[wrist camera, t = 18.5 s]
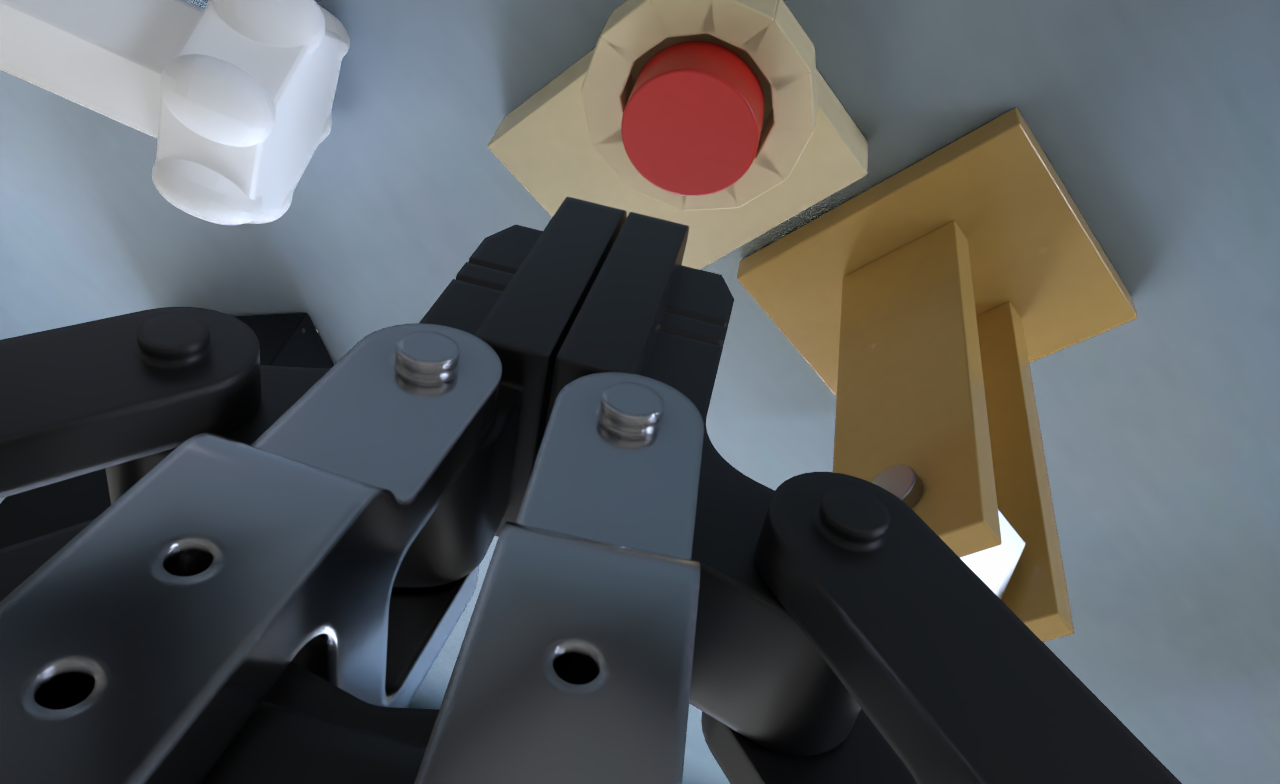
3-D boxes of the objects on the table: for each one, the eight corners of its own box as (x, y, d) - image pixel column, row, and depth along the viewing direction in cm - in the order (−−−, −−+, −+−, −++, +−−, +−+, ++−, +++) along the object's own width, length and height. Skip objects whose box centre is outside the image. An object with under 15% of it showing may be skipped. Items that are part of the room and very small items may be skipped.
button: (712, 12, 29) (702, 41, 27) (791, 120, 30) (786, 153, 29) (607, 88, 31) (592, 119, 29) (686, 185, 32) (677, 219, 31)
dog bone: (-59, -4, 37) (-241, 94, 31) (-84, -258, 31) (-313, -198, 25) (331, 170, 39) (231, 294, 33) (377, -38, 33) (266, 66, 27)
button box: (736, -104, 30) (720, -59, 27) (893, 127, 34) (894, 188, 31) (485, 96, 36) (449, 151, 33) (644, 273, 39) (625, 337, 36)
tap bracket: (865, 412, 42) (859, 732, 31) (739, 260, 38) (682, 566, 27) (1132, 298, 36) (1238, 643, 25) (1016, 106, 32) (1083, 417, 22)
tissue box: (157, 316, 46) (-430, 990, 25) (310, 308, 44) (-194, 1033, 23) (234, 441, 51) (-205, 1088, 30) (374, 438, 49) (6, 1131, 28)
